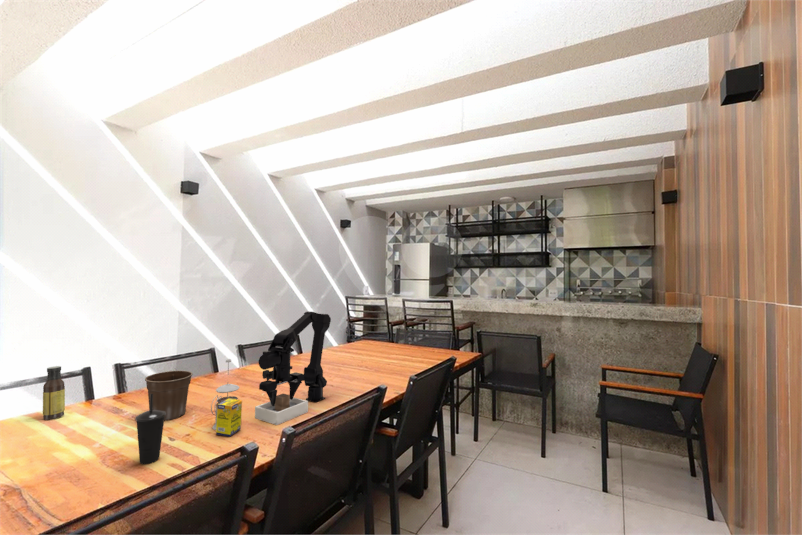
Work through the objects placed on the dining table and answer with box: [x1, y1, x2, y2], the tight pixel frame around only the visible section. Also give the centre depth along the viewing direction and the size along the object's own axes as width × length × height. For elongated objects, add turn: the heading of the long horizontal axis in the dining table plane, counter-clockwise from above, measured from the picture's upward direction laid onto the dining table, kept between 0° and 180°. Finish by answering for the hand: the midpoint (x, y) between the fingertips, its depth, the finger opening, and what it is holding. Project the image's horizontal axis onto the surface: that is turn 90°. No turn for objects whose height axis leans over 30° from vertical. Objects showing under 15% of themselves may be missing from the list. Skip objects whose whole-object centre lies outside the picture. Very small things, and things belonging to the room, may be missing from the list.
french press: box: [210, 358, 240, 431], centre depth 133 cm, size 10×12×25 cm
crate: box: [254, 396, 309, 426], centre depth 144 cm, size 16×13×4 cm
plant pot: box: [144, 370, 193, 422], centre depth 143 cm, size 16×16×16 cm
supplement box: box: [215, 398, 243, 438], centre depth 127 cm, size 6×6×11 cm
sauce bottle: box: [42, 365, 66, 421], centre depth 140 cm, size 6×6×20 cm
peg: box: [275, 393, 290, 411], centre depth 145 cm, size 4×4×7 cm
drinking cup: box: [134, 394, 166, 465], centre depth 108 cm, size 8×8×20 cm
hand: (282, 402), depth 145 cm, fingers open, 9 cm apart
